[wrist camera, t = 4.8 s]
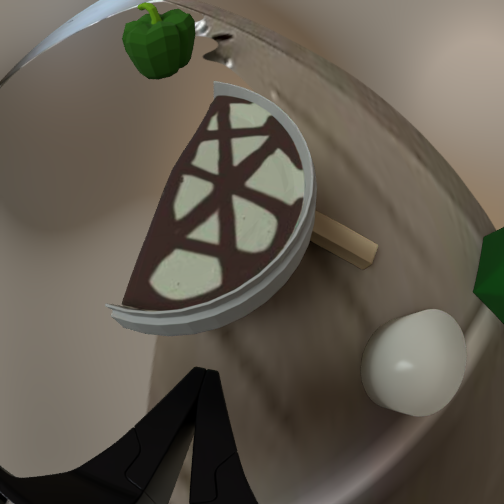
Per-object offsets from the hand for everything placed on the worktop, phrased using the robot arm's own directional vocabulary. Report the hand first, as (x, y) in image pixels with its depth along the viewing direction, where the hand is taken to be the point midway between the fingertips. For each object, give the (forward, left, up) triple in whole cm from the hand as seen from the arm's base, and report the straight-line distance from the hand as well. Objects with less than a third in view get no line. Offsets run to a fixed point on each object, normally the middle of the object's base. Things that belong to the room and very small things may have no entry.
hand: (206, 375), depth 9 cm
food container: (+6, +2, -8) cm, 11 cm away
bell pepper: (+23, +23, -8) cm, 34 cm away
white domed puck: (+5, -12, -8) cm, 15 cm away
